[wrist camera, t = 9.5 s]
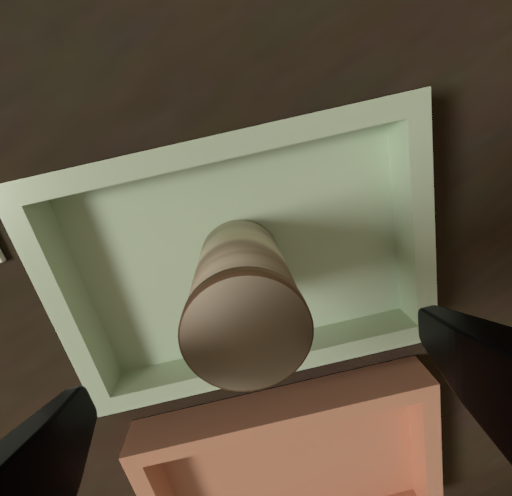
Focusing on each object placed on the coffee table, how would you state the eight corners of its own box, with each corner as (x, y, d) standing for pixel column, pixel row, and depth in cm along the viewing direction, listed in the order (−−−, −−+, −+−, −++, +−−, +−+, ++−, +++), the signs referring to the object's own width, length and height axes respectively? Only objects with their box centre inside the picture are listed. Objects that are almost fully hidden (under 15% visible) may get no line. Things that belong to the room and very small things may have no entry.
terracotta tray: (422, 486, 24) (444, 525, 21) (186, 542, 23) (181, 586, 21) (414, 355, 20) (439, 384, 17) (132, 420, 20) (118, 458, 17)
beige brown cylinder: (286, 284, 17) (322, 375, 10) (211, 301, 17) (198, 403, 10) (271, 210, 16) (302, 259, 9) (190, 228, 16) (159, 292, 9)
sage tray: (412, 313, 19) (438, 338, 16) (114, 382, 19) (98, 417, 16) (399, 95, 15) (430, 85, 13) (24, 180, 15) (-15, 187, 12)
